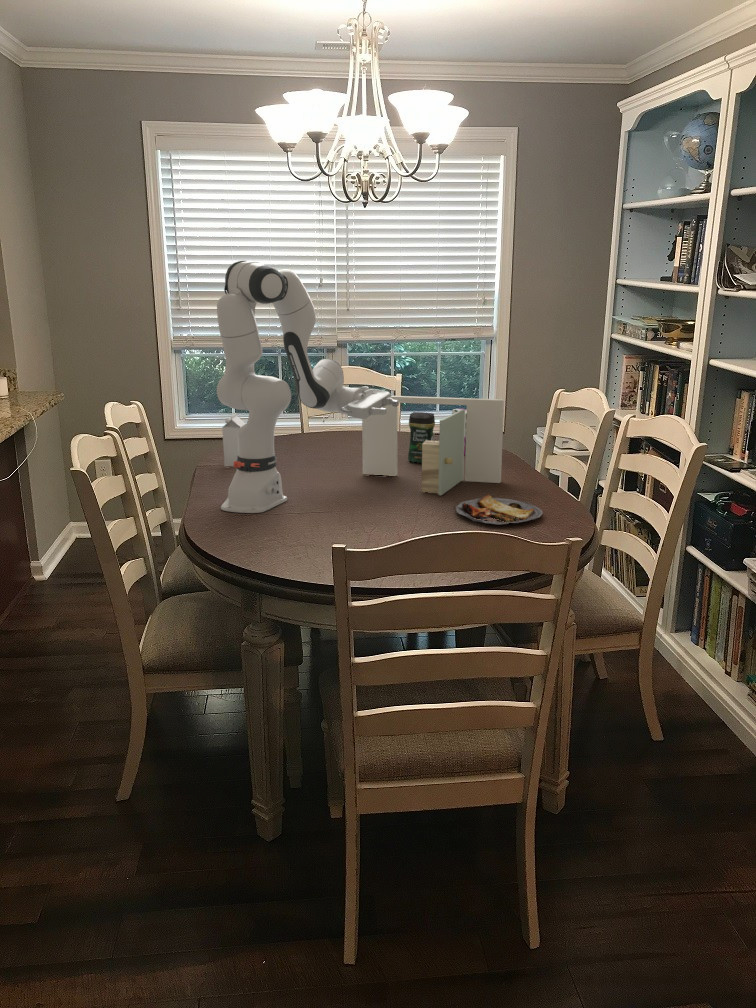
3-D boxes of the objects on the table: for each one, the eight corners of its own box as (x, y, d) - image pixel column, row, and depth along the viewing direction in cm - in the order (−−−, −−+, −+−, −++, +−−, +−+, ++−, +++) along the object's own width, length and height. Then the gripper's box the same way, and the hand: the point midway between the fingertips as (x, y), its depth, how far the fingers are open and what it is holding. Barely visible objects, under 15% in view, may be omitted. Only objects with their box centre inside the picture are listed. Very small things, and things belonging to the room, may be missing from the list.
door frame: (500, 483, 272) (503, 400, 264) (362, 475, 283) (361, 395, 275) (500, 481, 274) (504, 399, 266) (364, 473, 285) (363, 394, 277)
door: (468, 479, 274) (470, 409, 268) (447, 496, 255) (448, 421, 248) (460, 478, 275) (462, 409, 269) (438, 495, 256) (439, 420, 249)
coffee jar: (405, 463, 300) (406, 413, 295) (411, 458, 308) (411, 410, 302) (431, 464, 298) (431, 414, 292) (436, 460, 305) (437, 411, 300)
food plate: (439, 513, 239) (439, 501, 238) (492, 499, 253) (493, 488, 252) (503, 535, 221) (504, 523, 220) (556, 520, 235) (557, 508, 234)
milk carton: (248, 463, 300) (245, 413, 295) (243, 468, 294) (240, 416, 288) (229, 463, 301) (226, 412, 296) (224, 467, 294) (221, 416, 289)
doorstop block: (438, 493, 260) (439, 444, 256) (421, 492, 261) (422, 443, 257) (441, 488, 265) (442, 441, 261) (424, 487, 266) (425, 440, 262)
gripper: (338, 400, 252) (377, 406, 246) (366, 384, 269) (404, 390, 263) (338, 420, 254) (377, 426, 249) (366, 402, 271) (404, 408, 266)
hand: (392, 407), depth 256 cm, fingers open, 8 cm apart
